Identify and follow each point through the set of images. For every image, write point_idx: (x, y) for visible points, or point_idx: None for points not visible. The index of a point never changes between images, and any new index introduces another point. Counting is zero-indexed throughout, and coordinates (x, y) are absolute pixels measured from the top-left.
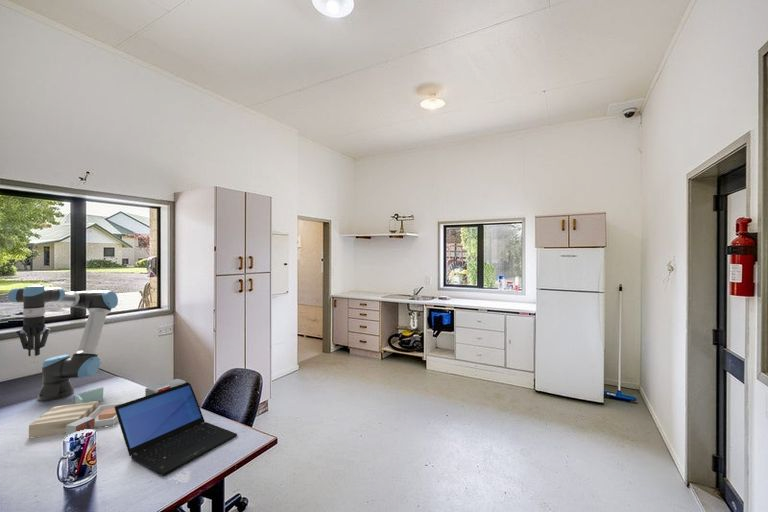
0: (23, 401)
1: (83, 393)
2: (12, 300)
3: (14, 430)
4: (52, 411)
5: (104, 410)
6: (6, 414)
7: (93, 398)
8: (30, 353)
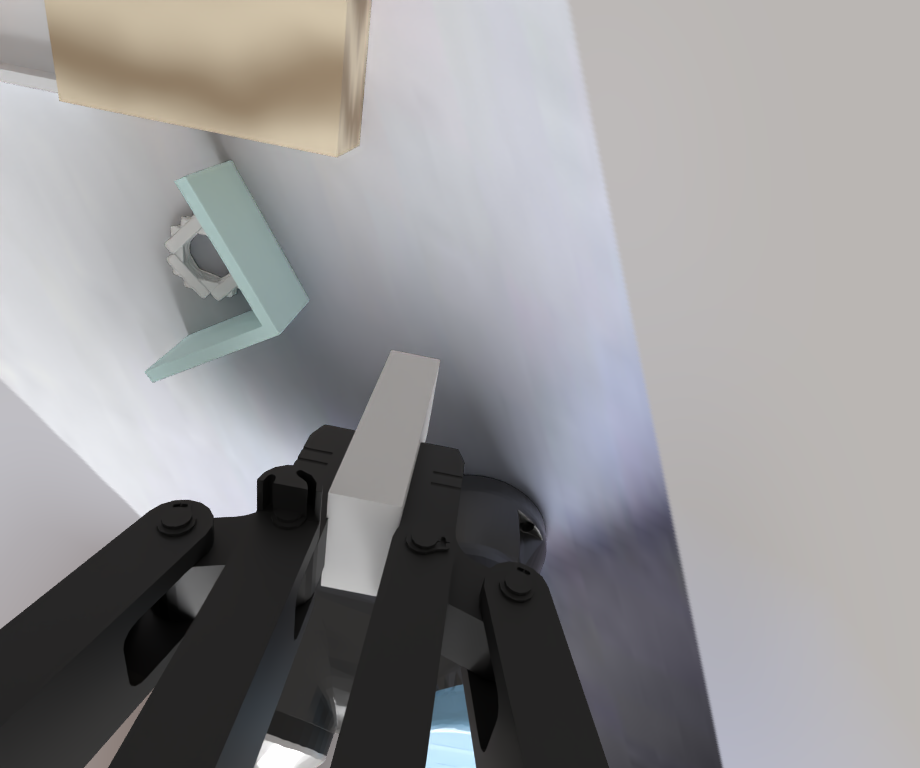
0: (606, 532)
1: (238, 334)
2: None
3: (534, 40)
4: (305, 30)
5: None
6: (644, 380)
7: (217, 329)
8: (426, 478)
